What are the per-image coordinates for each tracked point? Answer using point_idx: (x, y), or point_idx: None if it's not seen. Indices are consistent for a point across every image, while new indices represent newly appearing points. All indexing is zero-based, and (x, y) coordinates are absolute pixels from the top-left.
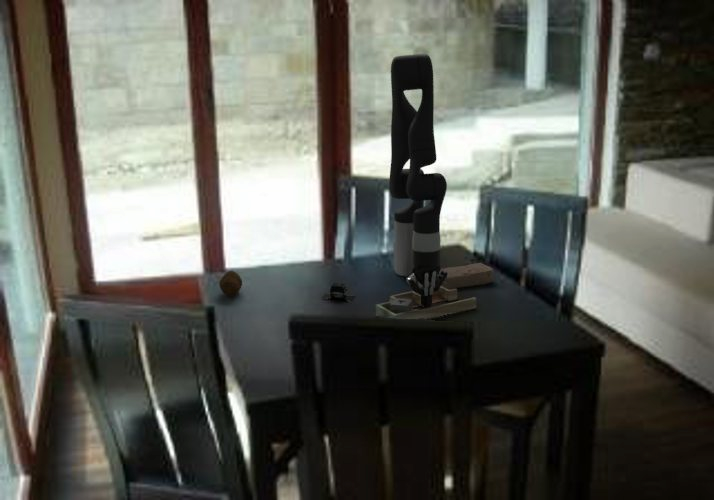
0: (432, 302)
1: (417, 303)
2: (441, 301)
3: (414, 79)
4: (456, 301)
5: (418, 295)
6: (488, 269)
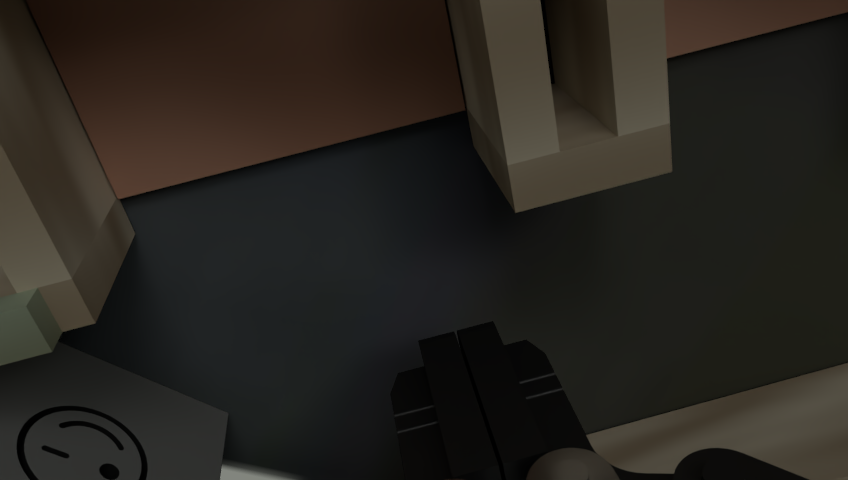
0: (688, 33)
1: (450, 16)
2: (831, 12)
3: None
4: (840, 478)
5: (492, 82)
6: None
